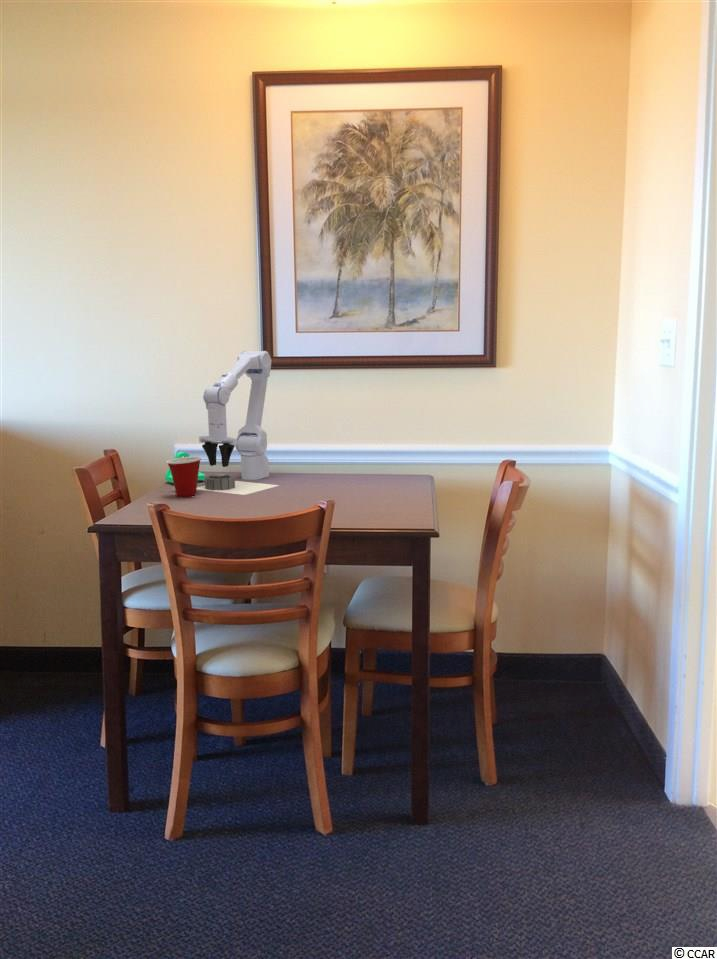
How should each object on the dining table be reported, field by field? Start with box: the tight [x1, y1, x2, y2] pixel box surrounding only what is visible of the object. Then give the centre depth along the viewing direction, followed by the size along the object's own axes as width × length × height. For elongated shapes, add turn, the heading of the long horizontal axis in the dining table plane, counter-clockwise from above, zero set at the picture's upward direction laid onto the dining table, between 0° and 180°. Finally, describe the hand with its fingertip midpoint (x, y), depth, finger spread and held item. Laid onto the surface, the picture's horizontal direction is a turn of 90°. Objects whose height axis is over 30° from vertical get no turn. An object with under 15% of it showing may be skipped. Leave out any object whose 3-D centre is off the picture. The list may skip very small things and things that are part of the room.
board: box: [196, 474, 281, 496], centre depth 283 cm, size 18×22×4 cm
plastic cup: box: [166, 456, 202, 498], centre depth 273 cm, size 11×11×12 cm
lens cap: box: [211, 473, 228, 479], centre depth 283 cm, size 5×5×4 cm
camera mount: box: [164, 451, 207, 484], centre depth 297 cm, size 12×8×10 cm, turn 121°
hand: (219, 465), depth 282 cm, fingers open, 5 cm apart
